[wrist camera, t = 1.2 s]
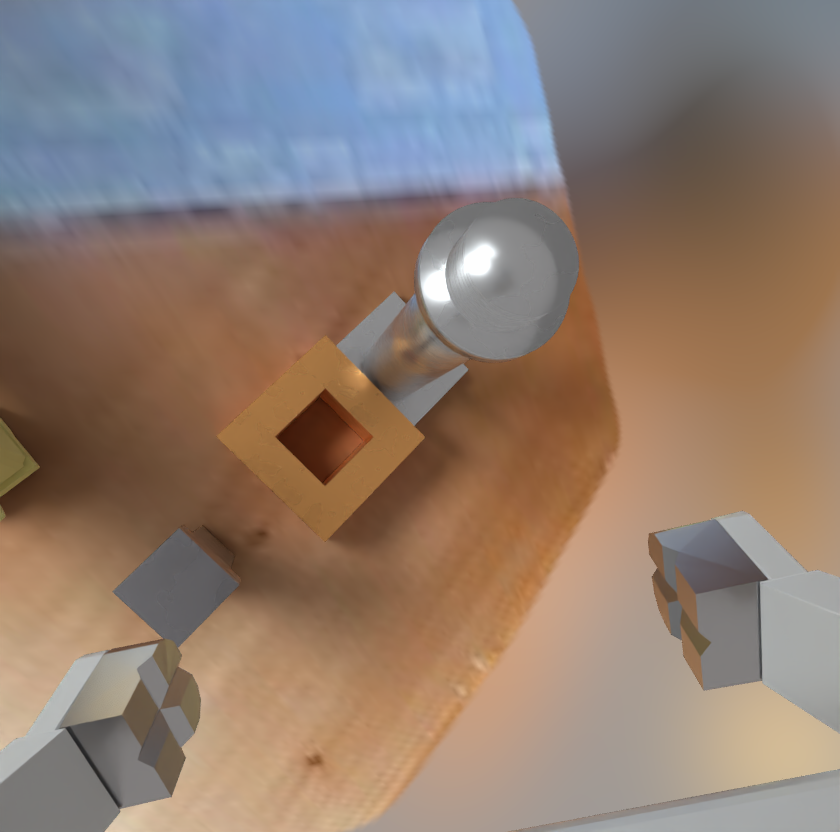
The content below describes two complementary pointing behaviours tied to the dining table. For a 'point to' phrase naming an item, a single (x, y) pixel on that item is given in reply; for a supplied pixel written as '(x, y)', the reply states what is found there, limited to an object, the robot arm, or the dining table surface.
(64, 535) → the dining table surface
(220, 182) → the dining table surface
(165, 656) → the robot arm
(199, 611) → the grey square peg
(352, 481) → the metal post on base
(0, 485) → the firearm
